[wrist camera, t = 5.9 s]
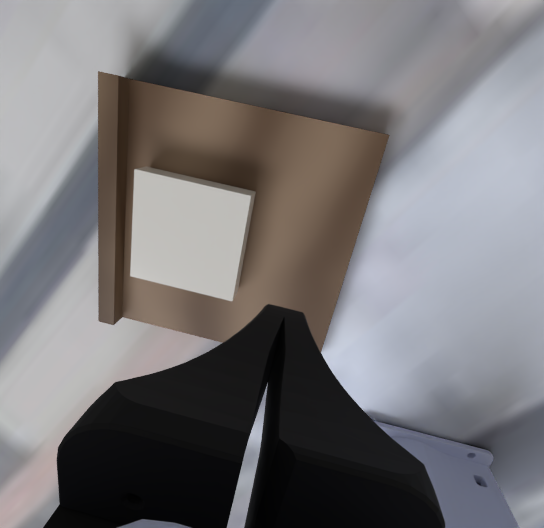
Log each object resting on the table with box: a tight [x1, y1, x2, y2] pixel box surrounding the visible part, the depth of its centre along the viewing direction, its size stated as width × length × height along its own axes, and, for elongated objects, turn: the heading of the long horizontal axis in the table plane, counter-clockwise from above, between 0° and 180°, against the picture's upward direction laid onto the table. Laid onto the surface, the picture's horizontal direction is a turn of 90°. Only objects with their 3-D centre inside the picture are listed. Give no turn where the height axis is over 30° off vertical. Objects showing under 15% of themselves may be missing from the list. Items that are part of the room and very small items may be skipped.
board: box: [98, 71, 389, 352], centre depth 19 cm, size 14×14×2 cm
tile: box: [130, 167, 256, 301], centre depth 18 cm, size 2×6×6 cm
